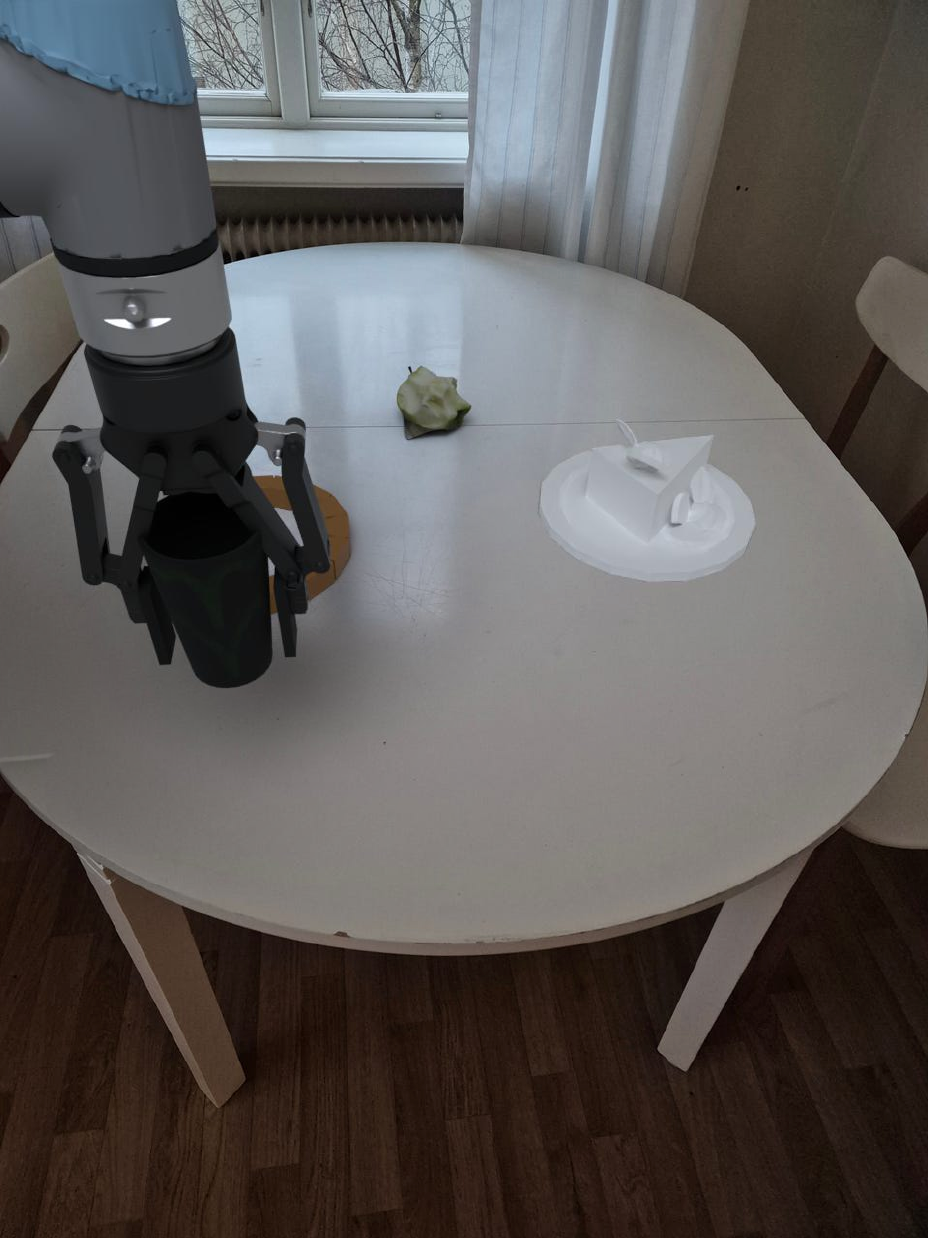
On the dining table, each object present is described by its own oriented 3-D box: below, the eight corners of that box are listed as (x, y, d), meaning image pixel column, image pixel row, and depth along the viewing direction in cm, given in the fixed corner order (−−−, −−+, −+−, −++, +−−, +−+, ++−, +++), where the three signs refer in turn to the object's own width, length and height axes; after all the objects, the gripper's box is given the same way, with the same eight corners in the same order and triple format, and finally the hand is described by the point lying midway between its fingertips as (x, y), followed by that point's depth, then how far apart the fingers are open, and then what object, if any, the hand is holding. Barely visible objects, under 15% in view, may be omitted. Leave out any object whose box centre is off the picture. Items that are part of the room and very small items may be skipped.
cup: (310, 647, 61) (291, 510, 53) (237, 717, 57) (204, 579, 48) (228, 607, 64) (198, 472, 56) (152, 671, 59) (107, 533, 51)
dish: (636, 612, 89) (656, 525, 81) (497, 492, 104) (502, 408, 96) (797, 533, 99) (828, 449, 91) (649, 434, 114) (665, 354, 106)
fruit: (391, 420, 118) (393, 361, 113) (458, 420, 119) (462, 362, 115) (401, 444, 110) (403, 382, 106) (472, 444, 112) (477, 383, 108)
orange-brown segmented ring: (142, 623, 86) (135, 602, 84) (169, 499, 101) (163, 480, 99) (352, 609, 88) (350, 589, 86) (348, 490, 103) (346, 471, 101)
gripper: (-80, 374, 40) (63, 697, 56) (363, 362, 42) (380, 677, 58) (-31, 305, 45) (87, 618, 61) (359, 298, 48) (376, 602, 63)
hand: (229, 646), depth 60 cm, fingers closed on cup, 8 cm apart
